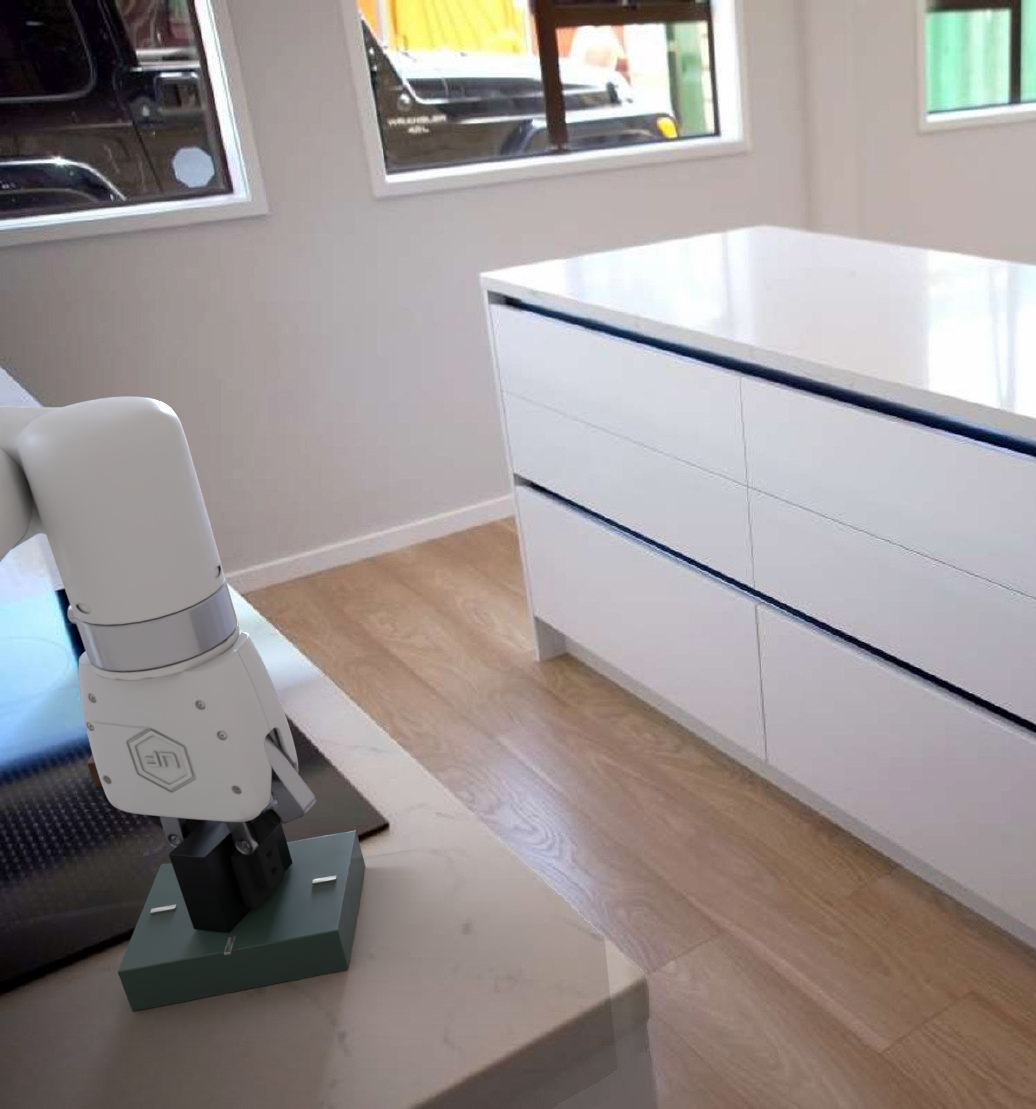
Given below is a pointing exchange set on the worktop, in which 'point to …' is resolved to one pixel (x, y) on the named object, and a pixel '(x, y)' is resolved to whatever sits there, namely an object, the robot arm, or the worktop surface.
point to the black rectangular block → (214, 875)
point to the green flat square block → (249, 931)
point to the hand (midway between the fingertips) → (242, 889)
